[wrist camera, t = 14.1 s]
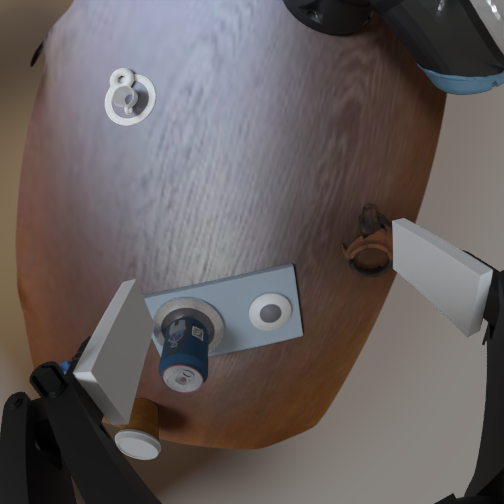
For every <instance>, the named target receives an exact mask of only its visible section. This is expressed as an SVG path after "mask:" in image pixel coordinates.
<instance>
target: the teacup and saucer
mask: <svg viewBox="0 0 504 504" xmlns="http://www.w3.org/2000/svg"><path fill="white" fill-rule="evenodd" d="M120 76H123V77H121V78H119V77H120ZM118 78H119V79H118ZM133 81H138V82H141V83H142V84H144V85H145V87H146V88H147V90H148V93H149V101H148V104H147V106H146V108H145V109H144V111H143V112H142V113H141V114H139V115H138V116H136V117H134V118H129V119H125V118H121V117H119V116H118V115H116V114H115V112H114V111H113V109H112V105H111V100H112V96H113V102H114V104H115V105H116V106H118V107H123V108H124V110H125V113H126V115H130V114H132V110H133V106H134V105H135V104H136V102H137V100H138V95H137V93H136V92H135V90H134V89H132V88H131V85H132V84H133ZM110 85H111V87H110V88H109V90H108V92H107V94H106V98H105V109H106V112H107V114H108V116H109V117H110V119H111V120H112V121H114V122H115V123H117V124H120V125H134V124H137V123H139V122H141V121H142V120H144V119H145V118H146V117H147V116H148V115H149V114H150V112H151V111H152V109H153V107H154V104H155V100H156V92H155V88H154V86H153V84H152V82H151V81H150V80H149V79H148V78H146V77H144V76H142V75H138V74H133V73H132V71H131V70H129V69H127V68H120V69H117V70H116V71H114V72H113V74H112V75H111V77H110ZM113 93H114V94H113ZM129 94H133V99H132V101H131V102H130V103H129V104H128V105H127V104H126V102H125V98H126V97H127V96H128V95H129ZM128 108H129V109H128Z"/></svg>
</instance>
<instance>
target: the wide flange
mask: <svg viewBox="0 0 504 504" xmlns="http://www.w3.org/2000/svg"><path fill="white" fill-rule="evenodd" d="M183 317H191V318H194V319H196V320H198V321H199V322H201V323H202V324H203V325H204V326H205V327H206V329H207V331H208V335H209V340H208V354H209V353H211V352H212V351H214V350H215V349H216V348H217V347H218V346H219V344H220V343H221V341H222V338H223V334H224V327H223V321H222V318H221V316H220V314H219V312H218V311H217V310H216V309H215V308H214V307H213V306H212V305H211V304H209V303H207V302H206V301H204V300H201V299H198V298H195V297H177V298H173V299H171V300H168V301H167V302H165V303H164V304H162V305H161V306H160V307H159V309H158V310H157V312H156V314H155V316H154V320H153V321H154V324H155V326H154V330H153V333H154V336H155V338H156V340H157V341H158V343H159V344H160V345H161V346H162V347H163V345H164V340H165V335H166V331H167V328H168V326H169V325H170V324H171V323H172V322H173V321H174V320H176V319H179V318H183Z"/></svg>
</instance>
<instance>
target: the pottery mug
mask: <svg viewBox="0 0 504 504" xmlns="http://www.w3.org/2000/svg"><path fill="white" fill-rule="evenodd" d="M359 220H360V229H361V231H362V232H363V233H364V234H365V235H368V236H367V237H366V238H364V237H363V236H360V237H359V238H357V239H356V240H355V241H353V243H352V244H351V245H350V246H349V247H348V248H347V250H346V249H345V247H344V244H341V247H342V252H343V255H344V257H345V260H346V261H347V262H348V263H349V267H350V268H351V269H352V270H353V271H354V272H355V273H356V274H358V275H361V276H365V277H377V276H380V275H382V274H384V273H386V272H387V271H388V270H390V268H391V267H392V264H393V228H392V225H391V224H390V223H389V221H388V220H387V218H386V217H385V216H383V215H382V214H380V213H377V212H376V207H375V206H374V205H371V204H368V205H365V206H364V207H363V213H362V214H361V215H360V216H359ZM380 225H382V227H383V228H381V226H380ZM367 248H376V249H380V250H382V251H384V252H385V253H386V254H387V255H388V262H387V263H386V264H385V265H384V266H383V267H381V266H379V267H377V268H374V269H364V268H361V267H359V266H356V265H355V263H354V262H353V260H352V259H353V258H354V257H355V255H356V254H357V253H358V252H360V251H362V250H364V249H367Z"/></svg>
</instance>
